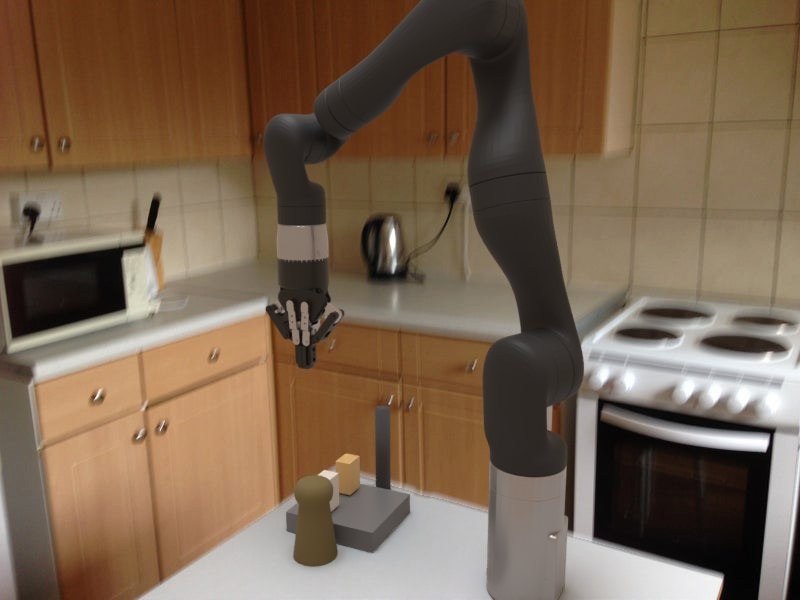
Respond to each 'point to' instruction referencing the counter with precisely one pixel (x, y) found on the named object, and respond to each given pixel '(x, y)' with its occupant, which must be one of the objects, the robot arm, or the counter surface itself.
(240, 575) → the counter surface
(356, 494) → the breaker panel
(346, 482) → the block
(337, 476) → the cream rectangular block
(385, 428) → the post
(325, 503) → the olive knobbed post
